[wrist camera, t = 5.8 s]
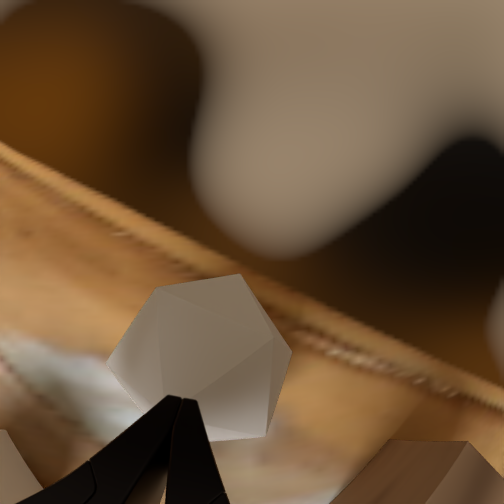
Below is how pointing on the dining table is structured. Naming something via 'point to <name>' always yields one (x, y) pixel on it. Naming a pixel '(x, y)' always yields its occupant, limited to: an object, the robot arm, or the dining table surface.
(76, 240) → the dining table surface
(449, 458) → the walnut block
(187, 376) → the die
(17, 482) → the pale grey block
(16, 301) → the dining table surface
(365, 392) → the dining table surface
